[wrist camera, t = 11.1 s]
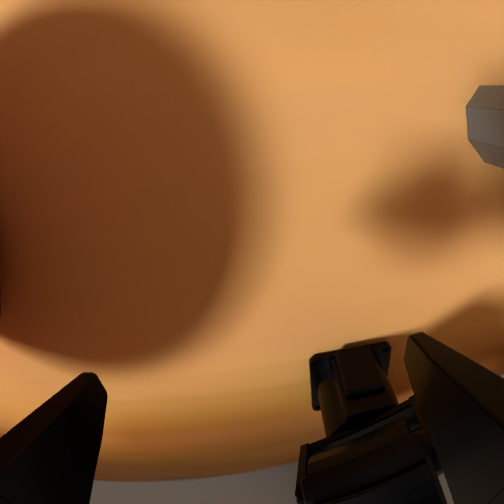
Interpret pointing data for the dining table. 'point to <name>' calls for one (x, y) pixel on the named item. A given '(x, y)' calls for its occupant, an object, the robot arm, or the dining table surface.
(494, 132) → the grey cup
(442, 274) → the dining table surface
